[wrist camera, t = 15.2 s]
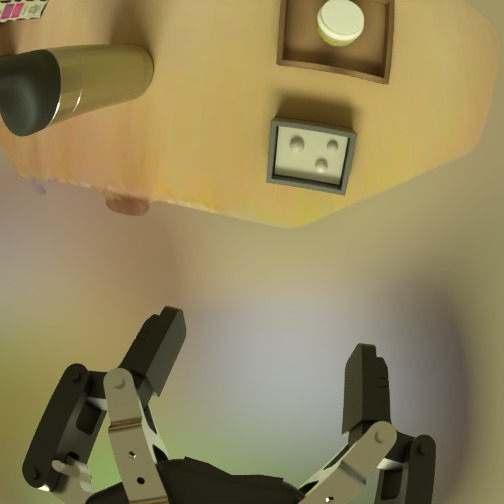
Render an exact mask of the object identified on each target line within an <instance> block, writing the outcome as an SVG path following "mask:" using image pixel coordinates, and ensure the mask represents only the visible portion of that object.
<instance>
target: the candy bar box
mask: <svg viewBox="0 0 504 504" xmlns="http://www.w3.org/2000/svg"><path fill="white" fill-rule="evenodd" d="M47 2H48V0H0V22H6V21H14V20H23V19H35V18H40V17H41V15H42V12H43V10H44V8H45V6H46V4H47Z"/></svg>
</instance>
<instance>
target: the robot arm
mask: <svg viewBox="0 0 504 504" xmlns="http://www.w3.org/2000/svg"><path fill="white" fill-rule="evenodd" d="M152 76H153V62H152V59H151V56H150V55H149V53H148V52H147V51H146V50H145V49H144V48H142V47H141V46H137V45H120V44H97V45H76V46H64V47H56V48H48V49H41V50H35V51H30V52H26V53H21V54H17V55H13V56H8V57H4V58H0V113H1V116H2V118H3V121H4V123H5V125H6V126H7V128H8V129H9V130H10V131H11V132H12V133H13V134H15V135H17V136H28V135H31V134H33V133H35V132H38V131H40V130H42V129H44V128H47V127H49V126H52V125H54V124H57V123H59V122H62V121H64V120H67V119H70V118H72V117H75V116H78V115H81V114H84V113H87V112H90V111H94V110H97V109H100V108H104V107H107V106H111V105H115V104H119V103H122V102H126V101H130V100H133V99H136V98H137V97H139V96H141V95H142V94H143V93H144V92H145V90H146V89H147V88H148V86H149V84H150V82H151V79H152ZM185 337H186V325H185V320H184V316H183V311H182V310H181V309H177V308H173V307H169V306H165V307H164V309H163V310H162V312H161V314H160V316H159V315H156V314H154V315H152V316H151V317H150V318H149V319H147V320H146V321H145V323H144V324H143V326H142V328H141V329H140V332H139V333H138V335H137V336H136V339H135V340H134V341H133V343H132V345H131V347H130V348H129V350H128V352H127V354H126V356H125V357H124V359H123V361H122V363H121V364H120V365H119V367H117V368H115V369H113V370H110V371H109V372H97V371H88V370H87V369H86V367H85V366H83V365H82V364H72V365H70V366H69V367H68V368H67V369H66V370H65V372H64V374H63V376H62V378H61V379H60V381H59V383H58V385H57V387H56V389H55V391H54V393H53V395H52V397H51V399H50V401H49V403H48V405H47V408H46V410H45V412H44V414H43V416H42V419H41V421H40V423H39V425H38V428H37V430H36V432H35V435H34V437H33V440H32V442H31V444H30V447H29V450H28V453H27V455H26V458H25V460H24V463H23V467H22V472H23V476H24V478H25V480H26V481H27V482H28V484H29V485H31V486H32V487H35V488H38V489H41V490H44V491H46V492H50V493H52V494H53V495H55V496H56V497H58V498H59V499H61V500H62V501H64V502H65V503H67V504H349V503H350V502H351V501H352V500H353V499H354V498H355V497H356V496H357V495H358V494H359V493H360V492H361V490H362V489H363V488H364V487H365V485H366V480H367V478H368V477H369V476H370V475H371V473H372V472H373V471H374V470H375V469H376V467H377V468H380V473H379V480H378V487H377V492H376V497H375V503H374V504H431V501H432V493H433V484H434V474H435V457H436V456H435V455H436V445H435V442H434V440H433V439H432V438H431V437H430V436H428V435H420V436H418V437H416V438H415V437H412V436H409V435H405V434H402V433H400V432H398V431H397V430H396V429H395V428H394V426H393V425H392V423H391V419H390V395H389V380H388V368H387V365H386V363H385V361H384V359H383V358H381V357H377V356H376V347H375V345H369V344H361V343H359V344H358V345H357V346H356V348H355V349H354V351H353V353H352V354H351V356H350V358H349V359H348V361H347V364H346V368H345V387H344V389H345V390H344V408H343V423H342V435H346V436H349V439H348V443H346V445H345V446H344V447H343V448H342V449H341V450H340V451H339V452H338V453H337V454H336V455H335V456H334V457H333V458H332V459H331V460H330V461H329V462H328V463H327V464H326V465H325V466H324V467H323V468H322V469H321V470H320V471H318V472H317V473H315V474H314V475H313V476H312V477H311V478H309V479H308V480H307V481H306V482H305V483H303V484H302V485H301V486H300V487H299V488H298V489H297V488H296V487H294V486H293V485H291V484H289V483H287V482H285V481H283V478H279V477H271V476H264V475H230V474H228V473H226V472H224V471H222V470H220V469H218V468H216V467H214V466H212V465H211V464H209V463H205V462H202V461H198V460H195V459H192V458H189V457H186V456H185V458H184V459H170V457H169V454H168V452H167V449H166V447H165V445H164V442H163V440H162V439H161V437H160V434H159V432H158V429H157V426H156V423H155V420H154V416H153V413H152V410H151V406H150V403H149V400H150V398H151V396H152V395H154V396H157V397H159V396H160V394H161V391H162V389H163V387H164V385H165V382H166V380H167V378H168V376H169V373H170V371H171V369H172V367H173V364H174V362H175V360H176V358H177V356H178V354H179V351H180V349H181V347H182V345H183V343H184V340H185ZM107 411H108V412H109V417H110V421H111V426H110V427H109V429H108V433H109V438H110V441H111V445H112V449H113V453H114V456H115V460H116V463H117V467H118V470H119V473H120V476H121V479H122V482H120V483H118V484H115V485H113V486H111V487H109V488H107V489H104V490H102V491H99V492H97V493H94V491H93V490H92V487H91V472H90V470H89V468H88V466H86V464H87V462H88V459H89V456H90V453H91V451H92V448H93V445H94V442H95V440H96V437H97V435H98V432H99V430H100V427H101V425H102V422H103V420H104V418H105V415H106V413H107ZM134 457H135V458H134ZM327 501H328V502H327Z"/></svg>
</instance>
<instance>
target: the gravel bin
mask: <svg viewBox="0 0 504 504" xmlns="http://www.w3.org/2000/svg"><path fill="white" fill-rule="evenodd" d="M356 138H357V134H356V132H355V131H354V130H353V129H349V128H344V127H339V126H334V125H328V124H323V123H317V122H311V121H304V120H297V119H289V118H281V117H274V118H273V119H272V120H271V129H270V142H269V154H268V166H267V178H266V183H273V184H280V185H287V186H293V187H300V188H306V189H312V190H317V191H323V192H328V193H334V194H339V195H344V196H345V193H346V188H347V184H348V179H349V174H350V169H351V165H352V159H353V154H354V149H355V143H356Z"/></svg>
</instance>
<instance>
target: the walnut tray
mask: <svg viewBox="0 0 504 504" xmlns="http://www.w3.org/2000/svg"><path fill="white" fill-rule="evenodd" d="M327 1H329V0H281V6H280V21H279V36H278V50H277V65H279V66H290V67H299V68H307V69H314V70H320V71H327V72H332V73H338V74H343V75H348V76H352V77H357V78H361V79H366V80H370V81H373V82H377V83H381V84H389V76H390V67H391V57H392V45H393V30H394V0H349V1H351V2H353V3H355V4H356V5H357V6H358V7H359V8H360V9H361V11H362V12H363V15H364V28H363V31H362V33H361V34H360V35H359V36H358V37H357V38H356V39H355V40H354V41H353V42H352V43H351V44H350V45H348V46H345V47H334V46H331V45H329V44H327V43H325V42H324V41H323V40H322V39H321V38H320V37H319V35H318V32H317V14H318V12H319V10H320V8H321V7H322V6H323V5H324V4H325V3H326V2H327Z"/></svg>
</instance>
